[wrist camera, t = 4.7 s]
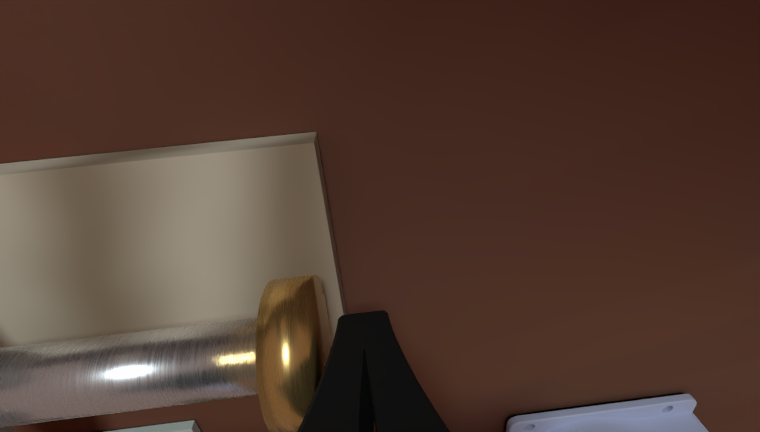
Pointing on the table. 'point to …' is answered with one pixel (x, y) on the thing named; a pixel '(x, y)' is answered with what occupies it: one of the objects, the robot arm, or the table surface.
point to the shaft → (179, 364)
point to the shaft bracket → (160, 237)
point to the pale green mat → (165, 428)
